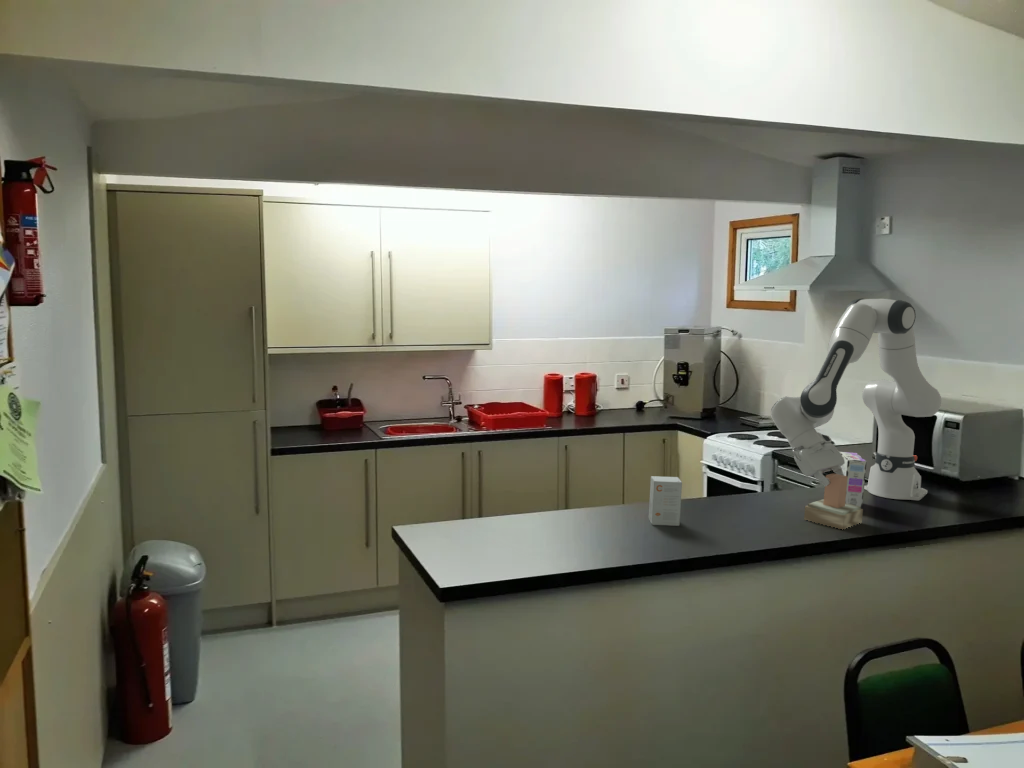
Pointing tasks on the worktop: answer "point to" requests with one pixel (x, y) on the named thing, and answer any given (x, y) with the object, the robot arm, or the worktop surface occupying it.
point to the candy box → (854, 477)
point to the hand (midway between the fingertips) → (835, 482)
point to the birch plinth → (833, 514)
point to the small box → (665, 500)
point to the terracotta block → (835, 491)
